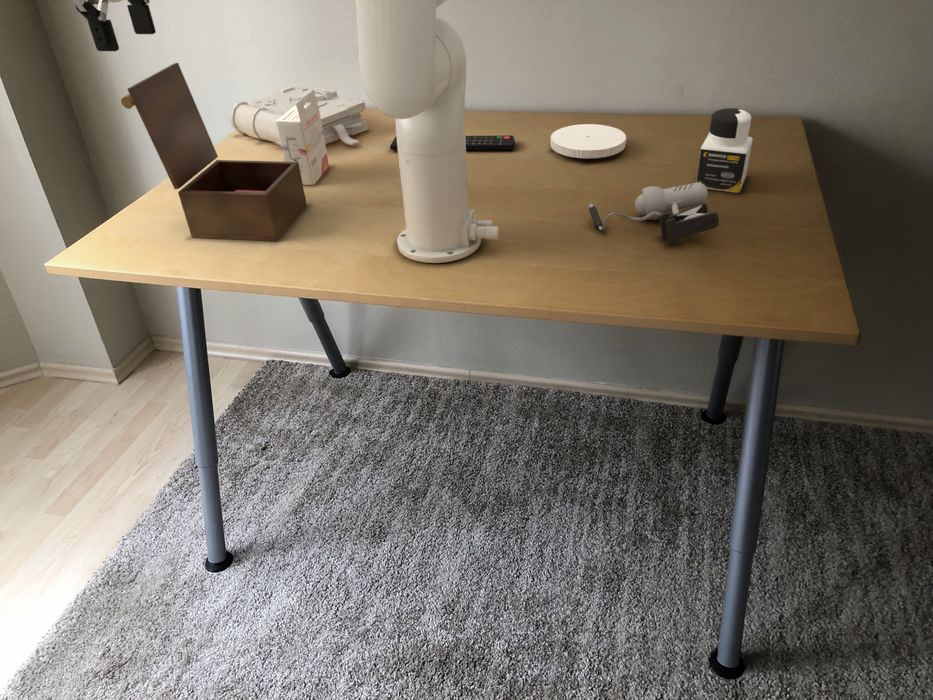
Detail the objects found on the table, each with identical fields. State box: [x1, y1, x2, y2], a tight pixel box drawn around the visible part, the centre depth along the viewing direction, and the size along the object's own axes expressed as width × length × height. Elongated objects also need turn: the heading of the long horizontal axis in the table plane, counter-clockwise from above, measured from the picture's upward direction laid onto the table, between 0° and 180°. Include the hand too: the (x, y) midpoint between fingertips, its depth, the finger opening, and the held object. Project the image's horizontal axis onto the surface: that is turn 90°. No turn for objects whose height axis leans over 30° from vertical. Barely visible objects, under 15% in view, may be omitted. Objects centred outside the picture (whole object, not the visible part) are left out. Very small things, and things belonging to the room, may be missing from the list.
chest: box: [177, 159, 308, 242], centre depth 118 cm, size 15×13×8 cm
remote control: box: [389, 134, 516, 151], centre depth 142 cm, size 5×24×1 cm, turn 83°
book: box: [229, 84, 369, 146], centre depth 150 cm, size 19×28×8 cm
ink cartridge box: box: [276, 90, 330, 186], centre depth 130 cm, size 9×5×15 cm, turn 168°
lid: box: [120, 62, 219, 190], centre depth 113 cm, size 15×13×6 cm
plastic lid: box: [550, 123, 627, 160], centre depth 137 cm, size 14×14×2 cm
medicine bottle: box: [695, 107, 754, 194], centre depth 119 cm, size 7×7×12 cm
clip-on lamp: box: [588, 182, 720, 246], centre depth 109 cm, size 12×6×18 cm
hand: (127, 41), depth 106 cm, fingers open, 9 cm apart
